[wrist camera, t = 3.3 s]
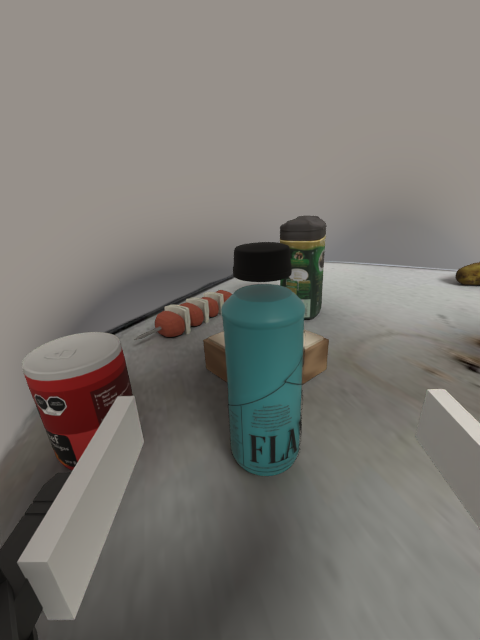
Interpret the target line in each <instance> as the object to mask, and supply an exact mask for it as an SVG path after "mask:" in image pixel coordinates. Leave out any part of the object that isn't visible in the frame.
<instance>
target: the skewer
mask: <svg viewBox="0 0 480 640" xmlns="http://www.w3.org/2000/svg"><path fill="white" fill-rule="evenodd" d="M231 295H232V294H231V293H229V292H227V291H223V290H218V291H217V292H207V293H204V297H202V298H190V299H186V303H183V304H181V305H169V306H166V307H165V311H163V312H161V313H160V314H158V315H157V317H156V320H155V329H153V330H151V331H149V332H146V333H144V334H142V335H140V336H138V337H137V338H136V339H135V340H137V339H142V338H144V337H146V336H148V335H151V334H153V333H155V332H158V333H159V334H161V335H163V336H166V337H174V336H178V335H182V333H183V332H185V333H186V334H189V333H190V332H191V329H190V326H198V325H201V324H202V322H205V323H208V322H209V317H214V316H216V315H217V314H218V313H219V314H221V315H222V313H221V308H222V305H223V304H224V303H225V301H226V300H227V299H228V298H229V297H230V296H231Z"/></svg>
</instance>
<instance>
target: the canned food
mask: <svg viewBox="0 0 480 640" xmlns="http://www.w3.org/2000/svg"><path fill="white" fill-rule="evenodd" d="M22 367H23V372H24V375H25V378H26V380H27V384H28V386H29V389H30V391H31V394H32V397H33V399H34V402H35V404H36V407H37V409H38V412H39V414H40V417H41V419H42V422H43V424H44V427H45V429H46V432H47V434H48V437H49V439H50V442H51V444H52V447H53V449H54V452H55V454H56V457H57V459H58V460H59V461H60V462H61V463H62V464H63V465H64V466H65V467H67V468H69V469H71V470H73V469H74V467H75V466H76V464H77V463H78V461H79V459H80V458H81V456H82V454H83V453H84V451H85V449H86V448H87V446H88V444H89V443H90V441H91V440H92V438H93V436H94V435H95V433H96V431H97V430H98V428H99V426H100V425H101V423H102V421H103V420H104V418H105V416H106V415H107V413H108V412H109V410H110V408H111V407H112V405H113V403H114V402H115V400H116V398H117V397H118V396H133V394H132V389H131V385H130V380H129V376H128V371H127V367H126V362H125V358H124V354H123V350H122V346H121V343H120V341H119V338H117V337H116V336H115V335H112V334H109V333H102V332H89V333H80V334H75V335H70V336H66V337H62V338H59V339H56V340H53V341H51V342H48V343H46V344H44V345H42V346H40V347H38V348H36V349H34V350H33V351H31V352H30V353H29V354H28V355H27V356H26V357H25V358H24V359H23V361H22Z"/></svg>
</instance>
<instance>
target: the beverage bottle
mask: <svg viewBox="0 0 480 640" xmlns="http://www.w3.org/2000/svg"><path fill="white" fill-rule="evenodd" d="M291 274H292V265H291V257H290V247H289V246H288V245H286V244H283V243H275V242H260V243H250V244H244V245H240V246H237V247H236V248H235V250H234V267H233V276H234V277H235V278H237V279H239V280H243V281H250V282H270V281H277V280H282V279H285V278H288V277H289V276H291ZM221 313H222V317H223V327H224V341H225V354H226V367H227V380H228V393H229V395H228V400H229V404H228V405H229V408H228V412H229V417H230V424H229V428H230V433H231V440H230V444H231V447H232V452H233V454H232V455H234V458H235V459H236V461H237V462H238V464H239V465H240V466H241V467H242V468H244V469H245V470H247V471H248V472H250V473H253V474H256V475H261V476H272V475H277V474H280V473H282V472H284V471H286V470H287V469H288V468H290V467H291V465H292V464H293V463H294V461H295V460H296V457H298V456H297V455H299V454H298V451H299V450H300V449H301V448H299V443H300V442H301V441H299V438H300V437H301V436H300V437H299V434H300V431H301V426H302V424H301V419H302V415H300V414H301V413H300V410H302V409H301V398H302V397H303V395H302V397H301V394H302V393H303V392H301V386H302V385H303V384H304V383H303V384H302V370H303V369H302V367H303V366H304V362H305V361H304V359H303V354H304V357H305V352H304V353H303V351H304V350H305V348H303V341H304V339H303V333H304V332H305V331H304V314H305V305H304V303H303V302H302V300H301V299H300V298H299V297H298V296H297V295H296V294H295V293H293V292H292V291H291V290H290V289H288V288H286V287H283V286H279V285H272V284H257V285H250V286H245V287H242V288H240V289H238V290H237V291H235V292H234V293H233V294H232V295H231V296H230V297H229V298H228V299H227V300H226V301H225V303H224V304H223V305H222V308H221ZM305 336H306V335H305ZM302 363H303V364H302ZM303 368H304V367H303ZM303 376H304V375H303ZM303 378H304V377H303ZM302 400H303V399H302ZM302 407H303V406H302ZM300 416H301V417H300ZM300 435H301V434H300ZM232 452H231V453H232ZM299 453H300V452H299Z"/></svg>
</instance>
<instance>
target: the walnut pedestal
mask: <svg viewBox="0 0 480 640" xmlns="http://www.w3.org/2000/svg"><path fill="white" fill-rule="evenodd" d="M304 331H305V332H304V333H303V339H304V341H303V348H305V350H304V351H303V353H304V352H305V357H304V354H303V359H304V361H305V362H304V366H303V367H304V368H303V367H302V369H303V370H302V384H303V383H306V382H307V381H309V380H310V379H312V378H313V377H315V376H316V375H318V374H319V373H321V372H322V371H324V370H326V367H327V355H328V343H329V340H328V339H326V338H324V337H322V336H320V335H317V334H314V333H312V332H309V331H306V330H304ZM305 335H306V336H305ZM203 342H204V352H205V361H206V368H207V369H208V370H209V371H211V372H212V373H214V374H215V375H217V376H218V377H220V378H221V379H223V380H224V381H225V382H227V383H228V380H227V367H226V354H225V341H224V331H223V332H220V333H218V334H215V335H213V336H210V337H208V338H207V339H204V340H203ZM302 364H303V363H302ZM303 375H304V376H303ZM303 377H304V378H303Z"/></svg>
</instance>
